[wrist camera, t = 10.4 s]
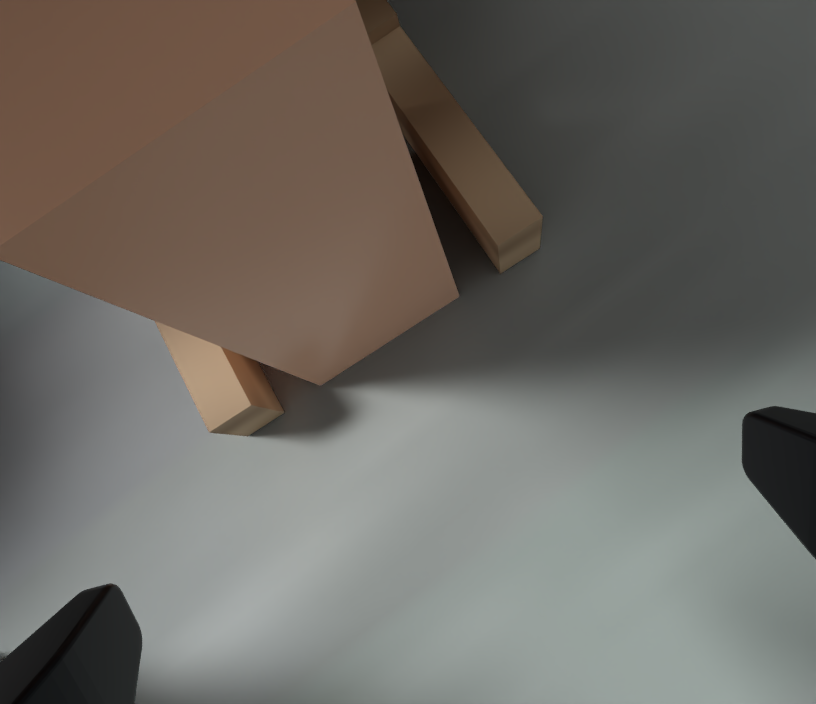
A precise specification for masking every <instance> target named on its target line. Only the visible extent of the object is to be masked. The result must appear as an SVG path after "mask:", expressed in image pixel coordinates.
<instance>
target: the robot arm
mask: <svg viewBox="0 0 816 704" xmlns="http://www.w3.org/2000/svg"><path fill="white" fill-rule="evenodd" d="M742 464H743V468H744V471H745V473H746V475H747V477H748V478H749V480H750V481H751V482H752V483H753V485H754V486H755V487H756V488H757V489H758V491H759V492H760V493H761V494H762V496H763V497H764V498H765V499H766V500H767V502H768V503H769V504H770V505H771V506H772V508H773V509H774V510H775V511H776V512H777V514H778V515H779V516H780V517H781V519H782V520H783V521H784V522H785V523H786V525H787V526H788V527H789V528H790V529H791V531H792V532H793V533H794V534H795V535H796V537H797V538H798V539H799V540H800V542H801V543H802V544H803V545H804V546H805V548H806V549H807V550H808V551H809V552H810V553H811V555H812V556H813V557H814V558H815V559H816V413H811V412H805V411H800V410H795V409H789V408H784V407H778V406H772V407H767V408H763V409H760V410H756V411H752V412H749V413H748V414H746V415H745V417H744V419H743V423H742ZM141 651H142V634H141V630H140V627H139V624H138V622H137V620H136V618H135V616H134V614H133V612H132V611H131V609H130V607H129V605H128V603H127V601H126V599H125V597H124V595H123V593H122V591H121V589H120V588H119V587H118V586H117V585H115V584H106V585H102V586H98V587H94V588H91V589H87V590H84V591H82V592H80V593H79V594H78V595H76V596H75V597H74V598H73V599H72V600H71V601H70V602H68V603H67V604H66V605H65V606H64V607H63V608H62V609H60V610H59V611H58V612H57V613H56V614H55V615H54V616H52V617H51V618H50V619H49V620H48V621H47V622H46V623H45V624H43V625H42V626H41V627H40V628H39V629H38V630H37V631H35V632H34V633H33V634H32V635H31V636H30V637H29V638H27V639H26V640H25V641H24V642H23V643H22V644H21V645H19V646H18V647H17V648H16V649H15V650H14V651H13V652H11V653H10V654H9V655H8V656H7V657H6V658H5V659H3V660H2V661H1V662H0V704H134V701H135V694H136V687H137V680H138V672H139V665H140V658H141Z"/></svg>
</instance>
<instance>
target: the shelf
mask: <svg viewBox="0 0 816 704" xmlns="http://www.w3.org/2000/svg"><path fill="white" fill-rule="evenodd" d="M355 1H356V3H357V6H358V9H359V11H360V14H361V17H362V20H363V23H364V26H365V29H366V31H367V34H368V37H369V40H370V43H371V46H372V48H373V51H374V54H375V57H376V60H377V63H378V66H379V68H380V71H381V74H382V77H383V80H384V83H385V85H386V88H387V91H388V94H389V97H390V100H391V103H392V105H393V108H394V111H395V114H396V117H397V120H398V122H399V125H400V128H401V131H402V134H403V135H404V137H405V138H406V140H407V141H408V142H409V144H410V145H411V147H412V148H413V150H414V151H415V152H416V154H417V155H418V157H419V158H420V160H421V161H422V162H423V164H424V165H425V167H426V168H427V170H428V171H429V172H430V174H431V175H432V177H433V178H434V180H435V181H436V182H437V184H438V185H439V187H440V188H441V190H442V191H443V192H444V194H445V195H446V197H447V198H448V200H449V201H450V202H451V204H452V205H453V207H454V208H455V210H456V211H457V212H458V214H459V215H460V217H461V218H462V220H463V221H464V222H465V224H466V225H467V227H468V228H469V230H470V231H471V232H472V234H473V235H474V237H475V238H476V240H477V241H478V242H479V244H480V245H481V247H482V248H483V250H484V251H485V252H486V254H487V255H488V257H489V258H490V260H491V261H492V262H493V264H494V265H495V267H496V268H497V270H498V271H499V272H500V274H501V273H502V272H504V271H506V270H507V269H509V268H510V267H512V266H513V265H515V264H516V263H518V262H520V261H521V260H523V259H524V258H526V257H527V256H529V255H530V254H532V253H534V252H535V251H537V250H538V249H540V241H541V230H542V220H543V216H542V215H541V213H540V212H539V211H538V209H537V208H536V207H535V205H534V204H533V203H532V201H531V200H530V199H529V197H528V196H527V195H526V193H525V192H524V191H523V189H522V188H521V187H520V185H519V184H518V183H517V181H516V180H515V179H514V177H513V176H512V175H511V173H510V172H509V171H508V169H507V168H506V167H505V165H504V164H503V163H502V161H501V160H500V159H499V157H498V156H497V155H496V153H495V152H494V151H493V149H492V148H491V147H490V145H489V144H488V143H487V141H486V140H485V139H484V137H483V136H482V135H481V133H480V132H479V131H478V129H477V128H476V127H475V125H474V124H473V123H472V121H471V120H470V119H469V117H468V116H467V115H466V113H465V112H464V111H463V109H462V108H461V107H460V105H459V104H458V103H457V101H456V100H455V99H454V97H453V96H452V95H451V93H450V92H449V91H448V89H447V88H446V87H445V85H444V84H443V83H442V81H441V80H440V79H439V77H438V76H437V75H436V73H435V72H434V71H433V69H432V68H431V67H430V65H429V64H428V63H427V61H426V60H425V59H424V57H423V56H422V55H421V53H420V52H419V51H418V49H417V48H416V47H415V45H414V44H413V43H412V41H411V40H410V39H409V37H408V36H407V35H406V33H405V32H404V31H403V29H402V28H401V27H400V24H399V20H398V17H397V14H396V12H395V11H394V10H393V8H392V7H391V6H390V4H389V3H388V2H387V0H355ZM155 323H156V325H157V327H158V329H159V331H160V333H161V335H162V337H163V339H164V341H165V343H166V345H167V347H168V349H169V351H170V353H171V356H172V358H173V360H174V362H175V364H176V366H177V368H178V370H179V372H180V374H181V376H182V378H183V380H184V382H185V384H186V386H187V388H188V390H189V392H190V394H191V396H192V398H193V400H194V402H195V405H196V407H197V409H198V411H199V413H200V415H201V417H202V419H203V421H204V423H205V425H206V427H207V429H208V431H209V432H210V433H220V434H230V435H240V436H249V435H251V434H252V433H254V432H255V431H257V430H258V429H260V428H261V427H263V426H265V425H266V424H268V423H269V422H271V421H272V420H274V419H275V418H277V417H279V416H280V415H282V414H283V413H285V412H284V410H283V408H282V407H281V405H280V403H279V401H278V399H277V397H276V395H275V393H274V392H273V390H272V388H271V386H270V384H269V382H268V380H267V378H266V377H265V375H264V373H263V371H262V369H261V367H260V365H259V364H258V362H257V361H256V360H253V359H251V358H248V357H246V356H243V355H241V354H238V353H235V352H233V351H230V350H228V349H225V348H223V347H220V346H218V345H215V344H213V343H210V342H207V341H205V340H202V339H200V338H197V337H195V336H192V335H190V334H187V333H185V332H182V331H179V330H177V329H174V328H172V327H169V326H167V325H164V324H162V323H159V322H157V321H155Z"/></svg>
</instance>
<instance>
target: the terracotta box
mask: <svg viewBox="0 0 816 704" xmlns="http://www.w3.org/2000/svg"><path fill="white" fill-rule="evenodd" d="M0 260H1V261H4V262H6V263H9V264H11V265H14V266H17V267H19V268H22V269H24V270H27V271H29V272H32V273H34V274H37V275H39V276H42V277H45V278H47V279H50V280H52V281H55V282H57V283H60V284H62V285H65V286H67V287H70V288H73V289H75V290H78V291H80V292H83V293H85V294H88V295H90V296H93V297H95V298H98V299H101V300H103V301H106V302H108V303H111V304H113V305H116V306H118V307H121V308H123V309H126V310H129V311H131V312H134V313H136V314H139V315H141V316H144V317H146V318H149V319H151V320H154V321H157V322H159V323H162V324H164V325H167V326H169V327H172V328H174V329H177V330H179V331H182V332H185V333H187V334H190V335H192V336H195V337H197V338H200V339H202V340H205V341H207V342H210V343H213V344H215V345H218V346H220V347H223V348H225V349H228V350H230V351H233V352H235V353H238V354H241V355H243V356H246V357H248V358H251V359H253V360H256V361H258V362H261V363H263V364H266V365H269V366H271V367H274V368H276V369H279V370H281V371H284V372H286V373H289V374H291V375H294V376H297V377H299V378H302V379H304V380H307V381H309V382H312V383H314V384H317V385H320V386H321V385H323V384H324V383H326V382H327V381H329V380H331V379H332V378H334V377H335V376H337V375H338V374H340V373H341V372H343V371H345V370H346V369H348V368H349V367H351V366H352V365H354V364H355V363H357V362H359V361H360V360H362V359H363V358H365V357H366V356H368V355H369V354H371V353H373V352H374V351H376V350H377V349H379V348H380V347H382V346H383V345H385V344H387V343H388V342H390V341H391V340H393V339H394V338H396V337H397V336H399V335H401V334H402V333H404V332H405V331H407V330H408V329H410V328H411V327H413V326H415V325H416V324H418V323H419V322H421V321H422V320H424V319H425V318H427V317H429V316H430V315H432V314H433V313H435V312H436V311H438V310H439V309H441V308H442V307H444V306H446V305H447V304H449V303H450V302H452V301H453V300H455V299H456V298H458V297H460V296H459V293H458V290H457V287H456V285H455V282H454V279H453V276H452V273H451V270H450V267H449V265H448V262H447V259H446V256H445V253H444V250H443V248H442V245H441V242H440V239H439V236H438V233H437V231H436V228H435V225H434V222H433V219H432V216H431V213H430V211H429V208H428V205H427V202H426V199H425V196H424V194H423V191H422V188H421V185H420V182H419V179H418V176H417V174H416V171H415V168H414V165H413V162H412V159H411V157H410V154H409V151H408V148H407V145H406V142H405V139H404V137H403V134H402V131H401V128H400V125H399V122H398V120H397V117H396V114H395V111H394V108H393V105H392V103H391V100H390V97H389V94H388V91H387V88H386V85H385V83H384V80H383V77H382V74H381V71H380V68H379V66H378V63H377V60H376V57H375V54H374V51H373V48H372V46H371V43H370V40H369V37H368V34H367V31H366V29H365V26H364V23H363V20H362V17H361V14H360V11H359V9H358V6H357V3H356V1H355V0H0Z"/></svg>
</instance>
